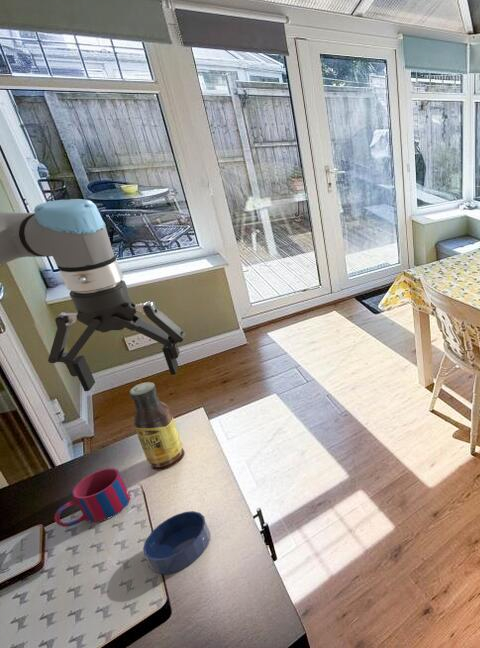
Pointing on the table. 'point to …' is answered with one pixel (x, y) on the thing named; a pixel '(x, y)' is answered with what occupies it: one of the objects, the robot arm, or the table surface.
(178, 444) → the sauce bottle
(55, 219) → the robot arm
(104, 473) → the mug
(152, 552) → the bowl
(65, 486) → the table surface
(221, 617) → the table surface
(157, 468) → the coaster
